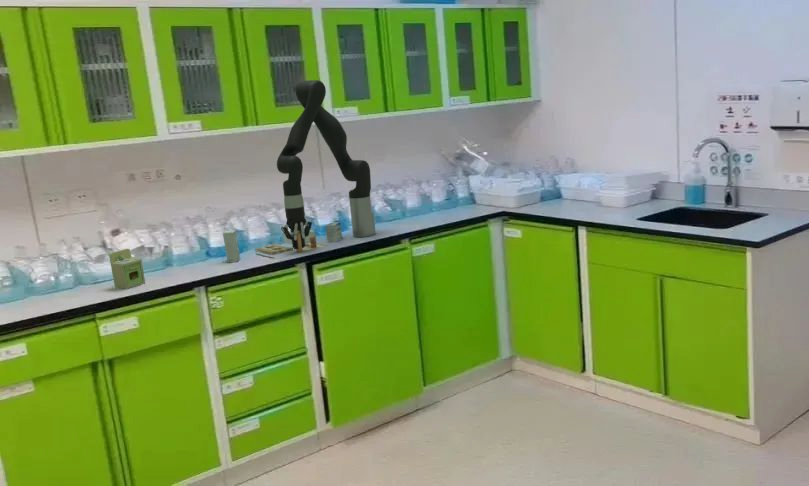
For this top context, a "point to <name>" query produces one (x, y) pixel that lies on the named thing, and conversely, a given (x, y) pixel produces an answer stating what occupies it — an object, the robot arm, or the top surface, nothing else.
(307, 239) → the cover
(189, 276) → the top surface
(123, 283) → the toy sink
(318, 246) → the board
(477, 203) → the top surface
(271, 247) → the build board
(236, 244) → the skincare box
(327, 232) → the medicine box
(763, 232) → the top surface
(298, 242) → the peg
